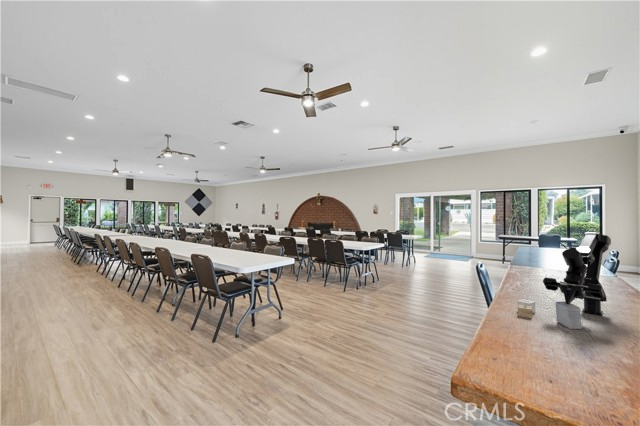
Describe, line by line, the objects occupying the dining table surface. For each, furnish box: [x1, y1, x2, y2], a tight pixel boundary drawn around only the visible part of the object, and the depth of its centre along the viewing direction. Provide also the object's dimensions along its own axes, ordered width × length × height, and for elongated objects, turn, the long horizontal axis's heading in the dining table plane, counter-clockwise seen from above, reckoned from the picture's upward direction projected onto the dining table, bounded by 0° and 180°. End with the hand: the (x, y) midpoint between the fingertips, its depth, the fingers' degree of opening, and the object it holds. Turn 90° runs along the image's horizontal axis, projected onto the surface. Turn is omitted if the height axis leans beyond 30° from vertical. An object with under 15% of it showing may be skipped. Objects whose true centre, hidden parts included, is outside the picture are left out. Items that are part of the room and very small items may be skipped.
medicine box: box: [555, 301, 583, 330], centre depth 113 cm, size 8×4×9 cm, turn 168°
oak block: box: [517, 305, 534, 319], centre depth 126 cm, size 5×5×4 cm
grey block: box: [517, 299, 536, 314], centre depth 131 cm, size 5×5×5 cm
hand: (567, 303), depth 114 cm, fingers closed, pressing on medicine box
